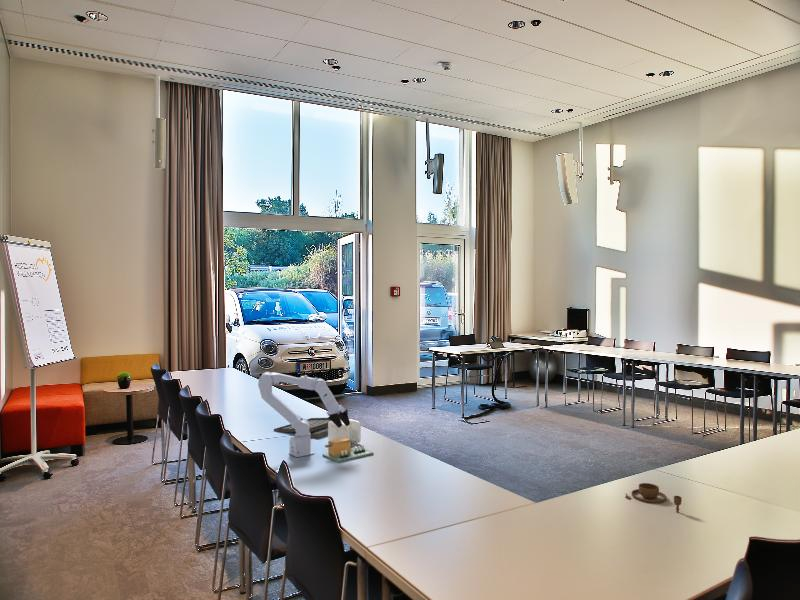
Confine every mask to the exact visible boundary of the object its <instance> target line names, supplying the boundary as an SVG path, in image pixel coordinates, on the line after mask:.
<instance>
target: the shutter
mask: <svg viewBox="0 0 800 600" xmlns="http://www.w3.org/2000/svg"><path fill="white" fill-rule="evenodd" d="M339 419H340V418H339ZM306 420H308V421H309V423H310V427H309V433H311V432H312V433H311V438H312V439H316V440H318V439H319V440H320V439H322V438H325V437H328V423H329V422H330V421H331V420H329V419H328V417H310V418H307V419H306ZM340 420H341V419H340ZM324 428H325V429H324ZM321 429H322V430H321ZM316 430H318V431H316ZM314 431H315V432H314ZM273 432H276V433H296V430H295V429H294V428H293V427H292V425H291V424H290V423H289V424H286V425H283V426H280V427H275V428H273Z"/></svg>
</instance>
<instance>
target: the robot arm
mask: <svg viewBox="0 0 800 600" xmlns="http://www.w3.org/2000/svg"><path fill="white" fill-rule="evenodd" d="M279 383H286V384H290V385H291V384H292V385H296V386H298V387H299V388H300V389H303V390H307V391H308V390H309V391H315V392H316V393H317V394H318V396H319V398H320V400H321V401H322V403H323V405H324V406H325V408H326V409H327V411H326V415H327V416H328V417H327V418H328V419H329V420H331V421H332V422H333V423H334V424H335V425H336V426H337V427H338V428H340V427H341V426H342V423H341V421H340V419H341V420H342V421H343V423H344V424H345V425H346V426H348V425H350V421H349V419H350V418H349V415H348V414H349V413H348V412H349V411H348V410H349V409H346V408H345V407H344V406H343V405H342V404H339V403H338V401H337V400H336V397H335V396H334V394H333V392H332V391H331V390H330V387H328V385H327V382H326V381H325V379H323V378H321V377H319V378H318V377H310V376H308V375H307V374H304V375H301V376H300V377H296V376H292V375H288V374H283V373H279V372H274V371H273V372H271V371H264V372H263V373H262V374H261V375H260V377H259V379H258V383H257V384H258V385H257V386H258V389H259V394H260V396H261V399H262V400H263V401H264V402H265V403H267V404H268V405H269V406H270V407H271V408H273V410H275V411H276V412H277V413H278V414H279V415H280V416H281V417H283V419H284V420H286V421H287V422H288V423H289V424H291V425H292V427H293V428H294V429H295V430H296V432H294V433H295V434H294V436H292V437H290V439H289V452H288V454H289V455H291V456H292V457H293V456H294V457H295V458H300V457H305V456H309V455H314V454H315V452H313V451H312V450H311V445H312V443H311V438H312V435H311V434H312V433H311V432H309V427H310V423H309V421H308V420H307V419H306V418H303V417H301V416H300V415H298V414H296V412H294V411H293V410H292V409H291V408H290V407H289V406H288V405H286V404H285V403H284V402H283V401H282V400H281V399H279V397H277V396H276V395H275V394H274V393H273V385H276V384H279ZM339 418H340V419H339Z"/></svg>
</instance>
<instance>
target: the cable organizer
mask: <svg viewBox="0 0 800 600" xmlns="http://www.w3.org/2000/svg"><path fill="white" fill-rule="evenodd" d="M340 421H341V423H342V426H341V427H340V428H338V427H337V426H336V425H335V424H334V423H333V422H332V421H330V422H329V423H328V426H327V428H328V436H327V440H328V441H330V440H335V439H340V438H347V439H349V440H350V443H352V444H355V445H356V444H359V443H360V442H361V439H362V433H361V432H362V430H361V429H362V428H361V427H362V426H361V421H358V420H356V419H351V418H349V421H350V425H348V426H346V425H345V424H344V423H343V421H342V420H340Z"/></svg>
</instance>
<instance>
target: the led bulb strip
mask: <svg viewBox="0 0 800 600" xmlns="http://www.w3.org/2000/svg"><path fill="white" fill-rule="evenodd" d="M354 447H355V451H354V453H355V454H356V453H361V452H365V450H366V449H365V445H364V444H362V445H358V446H354ZM357 447H358V451H357ZM361 448H362V450H361ZM364 449H365V450H364Z"/></svg>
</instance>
